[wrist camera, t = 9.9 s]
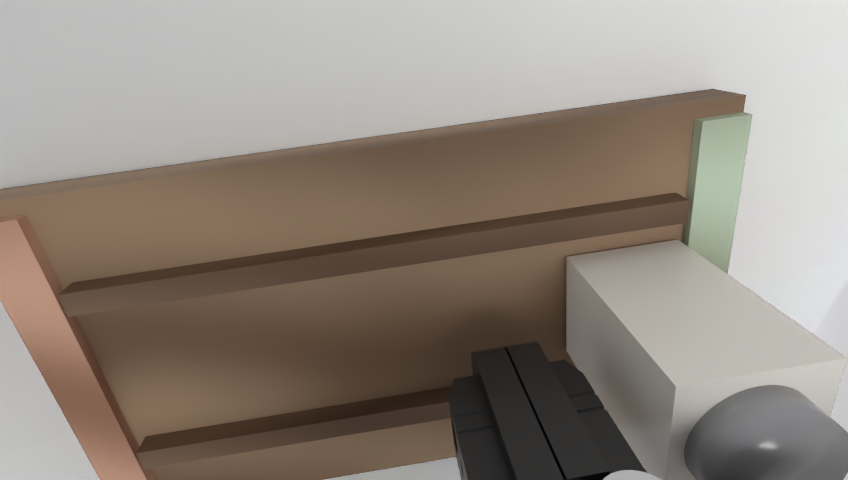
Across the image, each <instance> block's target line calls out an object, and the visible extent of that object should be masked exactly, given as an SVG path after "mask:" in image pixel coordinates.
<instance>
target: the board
mask: <svg viewBox="0 0 848 480" xmlns="http://www.w3.org/2000/svg"><path fill="white" fill-rule="evenodd" d="M745 97H746V95H743V94H737V93H732V92H726V91H721V90H716V89H710V90H703V91H696V92H689V93H682V94H675V95H667V96H660V97H653V98H646V99H639V100H632V101H625V102H618V103H611V104H603V105H596V106H589V107H582V108H575V109H568V110H561V111H554V112H547V113H539V114H532V115H525V116H518V117H511V118H504V119H497V120H490V121H483V122H475V123H468V124H461V125H454V126H447V127H440V128H433V129H426V130H419V131H411V132H404V133H397V134H390V135H383V136H376V137H369V138H362V139H355V140H347V141H340V142H333V143H326V144H319V145H312V146H305V147H298V148H291V149H283V150H276V151H269V152H262V153H255V154H248V155H241V156H234V157H227V158H219V159H212V160H205V161H198V162H191V163H184V164H177V165H170V166H163V167H155V168H148V169H141V170H134V171H127V172H120V173H113V174H106V175H99V176H91V177H84V178H77V179H70V180H63V181H56V182H49V183H42V184H35V185H27V186H20V187H13V188H6V189H0V300H1V302H2V304H3V306H4V307H5V309H6V311H7V313H8V315H9V316H10V318H11V320H12V322H13V324H14V325H15V327H16V329H17V331H18V333H19V334H20V336H21V338H22V340H23V342H24V343H25V345H26V347H27V349H28V351H29V352H30V354H31V356H32V358H33V360H34V361H35V363H36V365H37V367H38V369H39V370H40V372H41V374H42V376H43V378H44V379H45V381H46V383H47V385H48V387H49V388H50V390H51V392H52V394H53V396H54V397H55V399H56V401H57V403H58V405H59V406H60V408H61V410H62V412H63V414H64V415H65V417H66V419H67V421H68V423H69V424H70V426H71V428H72V430H73V432H74V433H75V435H76V437H77V439H78V441H79V442H80V444H81V446H82V448H83V450H84V451H85V453H86V455H87V457H88V458H89V460H90V462H91V464H92V466H93V467H94V469H95V471H96V473H97V475H98V476H99V478H100V480H322V479H328V478H334V477H340V476H346V475H352V474H358V473H364V472H369V471H375V470H381V469H387V468H393V467H399V466H405V465H411V464H417V463H423V462H428V461H434V460H440V459H446V458H452V457H456V453H455V448H454V441H453V432H452V424H451V415H450V407H449V399H448V396H449V393H450V389H451V386H452V383H453V380H454V379H456V378H461V377H467V376H473V373H472V362H471V352H474V351H480V350H486V349H492V348H497V347H504V346H509V345H514V344H520V343H526V342H532V341H537V342H538V343H539V345H540V347H541V348H542V350H543V352H544V354H545V356H546V357H547V359H548V361H549V362H553V361H559V360H566V361H567V362H568V363H570V364H571V365H572V366H574V367H575V368H577V367H576V366H575V364H574V362H573V361H572V359H571V357H570V356H569V354H568V352H567V351H566V257H568V256H575V255H581V254H588V253H594V252H601V251H607V250H614V249H620V248H627V247H633V246H640V245H646V244H653V243H659V242H666V241H672V240H679V241H681V242H682V243H684V244H685V245H687V246H688V247H689V248H691V249H692V250H694V251H695V252H697V253H698V254H699V255H701V256H702V257H704V258H705V259H707V260H708V261H709V262H711V263H712V264H714V265H715V266H717V267H718V268H719V269H721V270H722V271H724V272H725V273H728V266H729V260H730V253H731V247H732V241H733V234H734V228H735V221H736V215H737V209H738V202H739V196H740V189H741V183H742V177H743V170H744V164H745V157H746V151H747V144H748V138H749V132H750V125H751V119H752V114H749V113H744V112H743V111H744V104H745Z"/></svg>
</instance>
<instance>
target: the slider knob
mask: <svg viewBox="0 0 848 480" xmlns="http://www.w3.org/2000/svg"><path fill="white" fill-rule="evenodd" d="M566 351H567V352H568V354H569V356H570V357H571V359H572V361H573V362H574V364H575V366H576V367H577V369H578V370H579V371H581V372H582V373H583V374H584V375H585V377H586V379H587V380H588V382H589V383H590V385H591V386H592V388H593V389H594V392H595V395H596V394H597V396H598V397H599V399H600V400H601V402H602V403H603V405H604V409H605V410H607V411H608V413H609V414H610V416H611V418H612V419H613V421H614V422H615V424H616V425H617V427H618V428H619V430H620V432H621V433H622V435H623V436H624V438H625V439H626V441H627V443H628V444H629V446H630V447H631V449H632V450H633V452H634V453H635V455H636V457H637V458H638V460H639V461H640V463H641V464H642V466H643V467H644V469H645V470H646V471H647V473H649V474H651V475H654V476H656V477H658V478H660V479H662V480H843V479H844V477H845V476H846V474H847V472H848V433H847V432H846V431H845V430H844V429H843V428H842V427H841V426H840V425H839V424H838V423H836V422H835V421H834V420H833V419H832V418H830V415H831V412H832V409H833V405H834V402H835V399H836V395H837V392H838V388H839V385H840V382H841V378H842V375H843V372H844V368H845V365H846V362H847V357H846V356H844V355H843V354H841V353H840V352H838V351H837V350H835V349H834V348H833V347H831V346H830V345H828V344H827V343H825V342H824V341H823V340H821V339H820V338H818V337H817V336H815V335H814V334H813V333H811V332H810V331H808V330H807V329H805V328H804V327H803V326H801V325H800V324H798V323H797V322H795V321H794V320H793V319H791V318H790V317H788V316H787V315H785V314H784V313H782V312H781V311H780V310H778V309H777V308H775V307H774V306H772V305H771V304H770V303H768V302H767V301H765V300H764V299H762V298H761V297H760V296H758V295H757V294H755V293H754V292H752V291H751V290H750V289H748V288H747V287H745V286H744V285H742V284H741V283H740V282H738V281H737V280H735V279H734V278H732V277H731V276H729V275H728V274H727V273H725V272H724V271H722V270H721V269H719V268H718V267H717V266H715V265H714V264H712V263H711V262H709V261H708V260H707V259H705V258H704V257H702V256H701V255H699V254H698V253H697V252H695V251H694V250H692V249H691V248H689V247H688V246H687V245H685V244H684V243H682V242H681V241H679V240H672V241H666V242H659V243H653V244H646V245H640V246H633V247H627V248H620V249H614V250H607V251H601V252H594V253H588V254H581V255H575V256H568V257H566Z"/></svg>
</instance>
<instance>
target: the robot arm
mask: <svg viewBox="0 0 848 480" xmlns="http://www.w3.org/2000/svg"><path fill="white" fill-rule="evenodd" d="M471 362H472V373H473V376H467V377H461V378H456V379H454V380H453V383H452V386H451V389H450V393H449V396H448V399H449V407H450V415H451V424H452V432H453V441H454V448H455V453H456V457H457V462H458V466H459V470H460V475H461V480H662V479H660V478H658V477H656V476H654V475H651V474H649V473H647V471H646V470H645V469H644V467H643V466H642V464H641V463H640V461H639V460H638V458H637V457H636V455H635V453H634V452H633V450H632V449H631V447H630V446H629V444H628V443H627V441H626V439H625V438H624V436H623V435H622V433H621V432H620V430H619V428H618V427H617V425H616V424H615V422H614V421H613V419H612V418H611V416H610V414H609V413H608V411H607V410H605V409H604V405H603V403H602V402H601V400H600V399H599V397H598V396H597V394H596V395H595V392H594V389H593V388H592V386H591V385H590V383H589V382H588V380H587V379H586V377H585V375H584V374H583V373H582V372H581V371H579V370H578V369H577V368H575V367H574V366H572V365H571V364H570V363H568V362H567V361H566V360H559V361H553V362H549V361H548V359H547V357H546V356H545V354H544V352H543V350H542V348H541V347H540V345H539V343H538V342H537V341H532V342H526V343H520V344H514V345H509V346H504V347H497V348H492V349H486V350H480V351H474V352H471Z"/></svg>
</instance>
